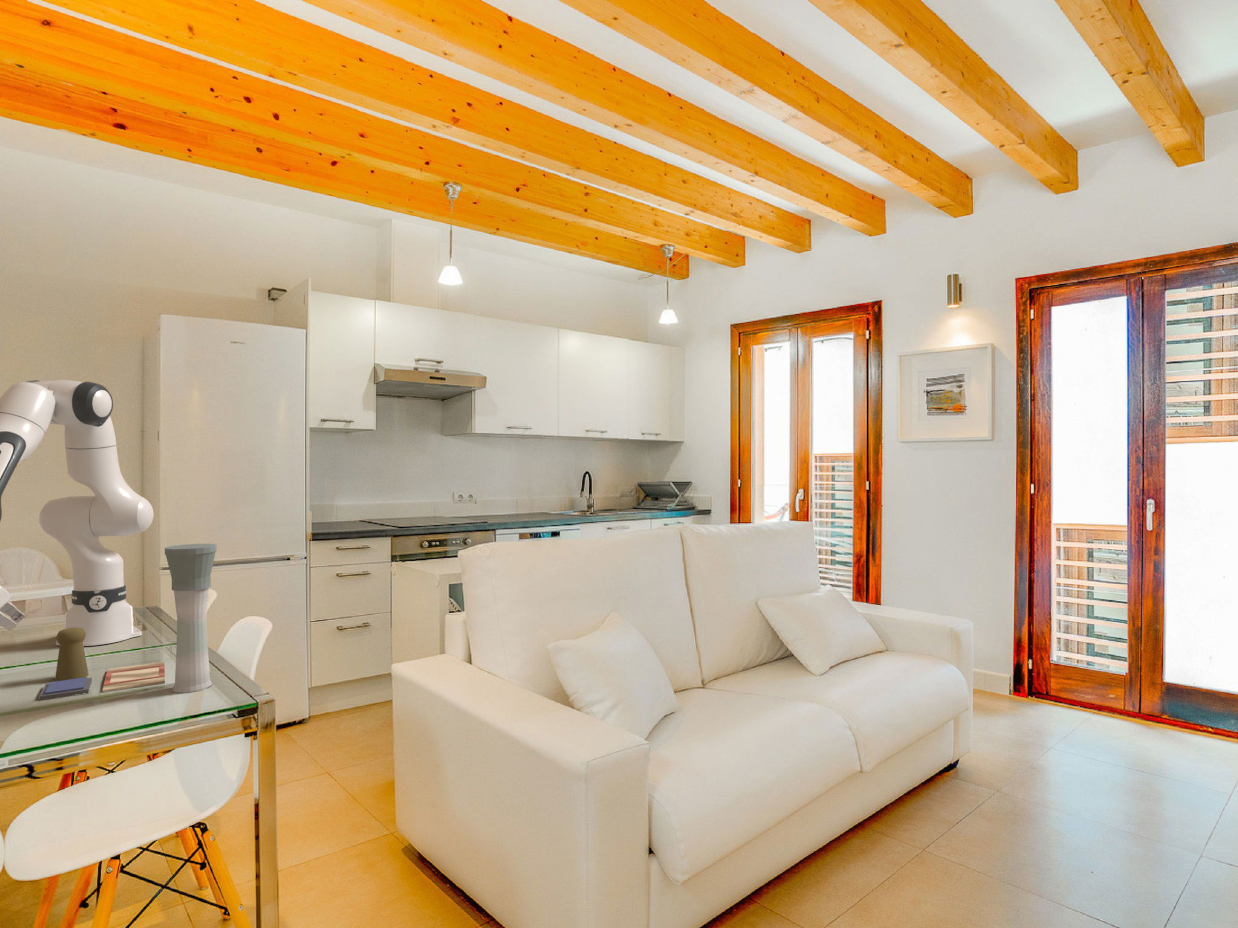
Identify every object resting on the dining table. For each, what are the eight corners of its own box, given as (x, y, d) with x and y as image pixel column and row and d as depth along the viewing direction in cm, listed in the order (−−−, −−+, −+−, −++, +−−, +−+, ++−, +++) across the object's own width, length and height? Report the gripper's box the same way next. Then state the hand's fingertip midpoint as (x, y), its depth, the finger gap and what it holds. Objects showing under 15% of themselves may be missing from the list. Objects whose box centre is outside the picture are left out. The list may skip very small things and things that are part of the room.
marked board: (107, 671, 166) (107, 668, 166) (164, 663, 172) (164, 661, 172) (102, 692, 151) (102, 689, 151) (164, 682, 157) (164, 680, 157)
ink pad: (45, 687, 155) (45, 681, 155) (91, 680, 159) (91, 675, 159) (39, 700, 146) (39, 694, 146) (88, 693, 150) (88, 687, 150)
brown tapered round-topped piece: (70, 682, 158) (69, 631, 158) (47, 680, 159) (46, 630, 159) (95, 674, 164) (94, 625, 164) (73, 672, 165) (72, 624, 165)
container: (157, 690, 152) (155, 547, 152) (202, 678, 160) (200, 542, 160) (182, 697, 147) (180, 549, 147) (227, 684, 155) (225, 544, 155)
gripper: (-40, 577, 144) (23, 620, 149) (-19, 565, 161) (38, 604, 166) (-70, 602, 142) (-4, 645, 147) (-45, 587, 159) (13, 626, 164)
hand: (18, 623), depth 157 cm, fingers open, 8 cm apart
